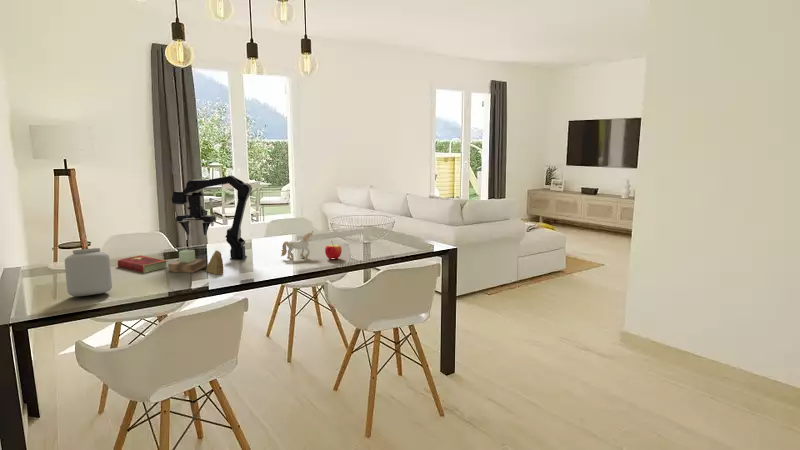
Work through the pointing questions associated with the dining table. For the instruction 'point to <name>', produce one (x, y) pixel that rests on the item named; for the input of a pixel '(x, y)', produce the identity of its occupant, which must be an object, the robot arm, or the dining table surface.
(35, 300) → the dining table surface
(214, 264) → the brown tan chunky block
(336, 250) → the apple
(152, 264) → the hardcover book
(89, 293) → the jar
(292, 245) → the unicorn figurine
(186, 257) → the green cube
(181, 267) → the walnut block
